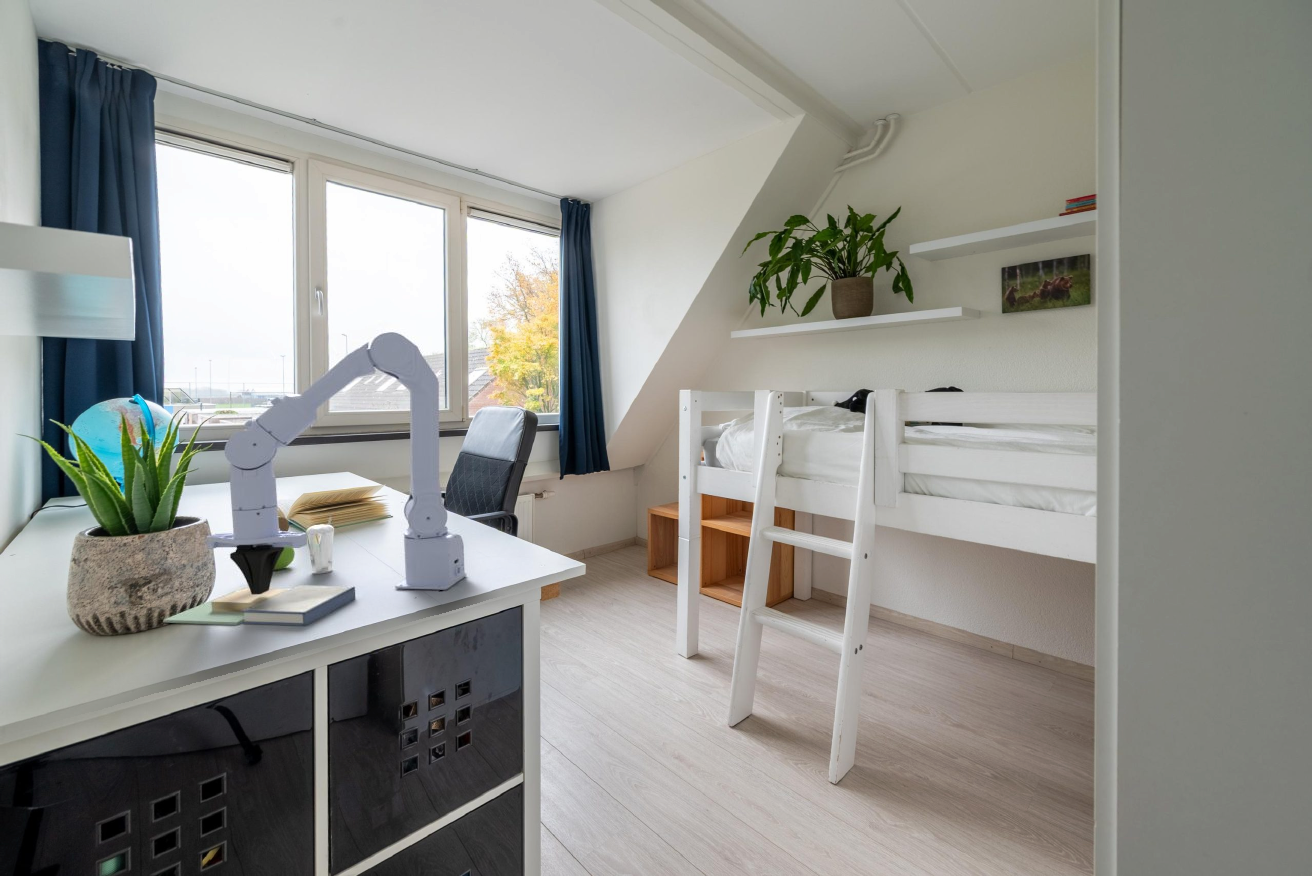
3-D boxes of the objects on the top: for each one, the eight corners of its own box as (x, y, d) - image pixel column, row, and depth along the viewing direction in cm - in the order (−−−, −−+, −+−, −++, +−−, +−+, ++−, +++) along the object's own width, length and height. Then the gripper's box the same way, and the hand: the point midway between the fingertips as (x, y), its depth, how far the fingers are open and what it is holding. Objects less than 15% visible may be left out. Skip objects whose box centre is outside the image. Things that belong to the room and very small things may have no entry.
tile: (289, 598, 89) (289, 589, 89) (259, 612, 83) (258, 603, 83) (245, 597, 90) (244, 588, 90) (211, 611, 84) (211, 601, 84)
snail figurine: (249, 574, 103) (245, 512, 102) (279, 564, 109) (276, 505, 109) (273, 575, 102) (269, 512, 101) (302, 565, 108) (298, 506, 107)
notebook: (355, 598, 90) (354, 586, 89) (305, 625, 79) (304, 612, 78) (299, 596, 91) (299, 585, 90) (242, 623, 80) (242, 610, 80)
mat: (299, 595, 91) (299, 593, 91) (236, 624, 79) (236, 622, 79) (234, 593, 92) (234, 591, 92) (163, 622, 81) (163, 619, 80)
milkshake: (344, 566, 107) (341, 516, 106) (325, 575, 102) (322, 523, 101) (322, 566, 108) (320, 516, 107) (302, 575, 102) (299, 522, 101)
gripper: (317, 501, 88) (322, 583, 89) (229, 502, 88) (235, 583, 89) (287, 510, 81) (292, 599, 82) (192, 511, 81) (198, 599, 82)
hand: (260, 592), depth 85 cm, fingers closed
